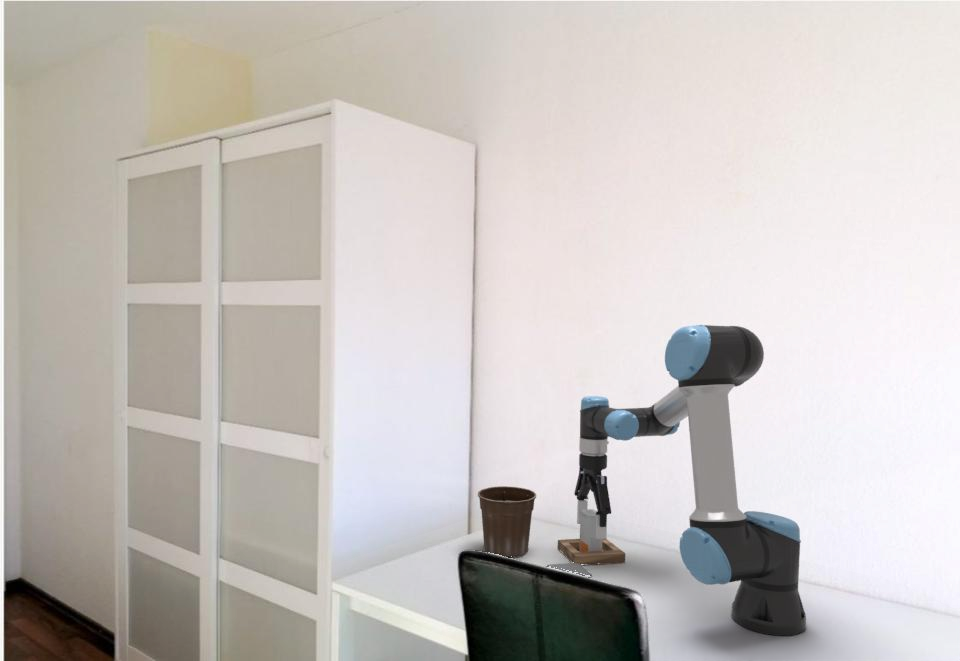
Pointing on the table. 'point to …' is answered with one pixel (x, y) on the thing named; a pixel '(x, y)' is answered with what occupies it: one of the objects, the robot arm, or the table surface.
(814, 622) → the table surface
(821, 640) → the table surface
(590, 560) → the frame
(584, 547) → the skincare box
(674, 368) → the robot arm
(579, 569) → the mat
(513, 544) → the plant pot
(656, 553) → the table surface
